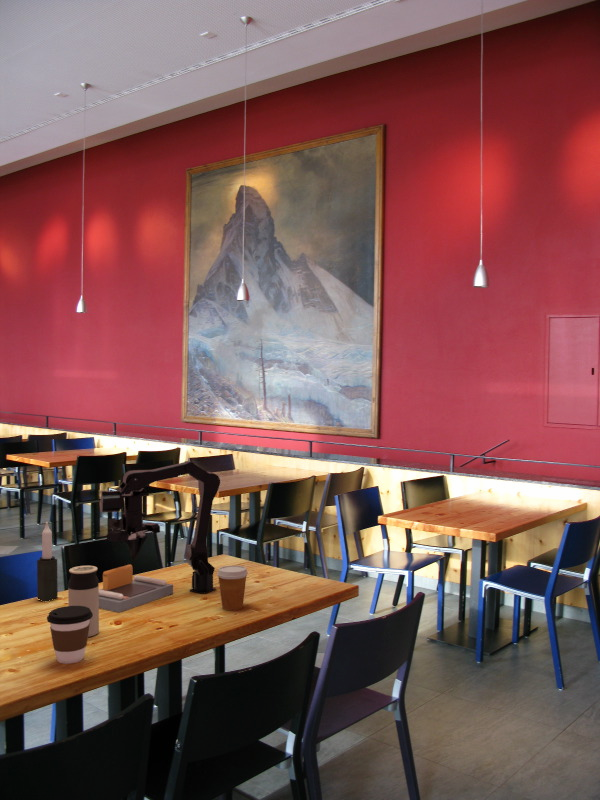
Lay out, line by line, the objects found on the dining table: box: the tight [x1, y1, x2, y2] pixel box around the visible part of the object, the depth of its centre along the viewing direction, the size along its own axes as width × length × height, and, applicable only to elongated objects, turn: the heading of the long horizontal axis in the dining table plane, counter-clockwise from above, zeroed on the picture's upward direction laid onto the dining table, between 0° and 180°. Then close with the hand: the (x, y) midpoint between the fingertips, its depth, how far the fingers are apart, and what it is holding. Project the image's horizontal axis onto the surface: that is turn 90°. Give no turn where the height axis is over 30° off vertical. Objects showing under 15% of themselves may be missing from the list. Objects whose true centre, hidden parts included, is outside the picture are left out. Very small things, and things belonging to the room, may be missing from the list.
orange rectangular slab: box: [102, 564, 134, 590], centre depth 240 cm, size 2×11×6 cm, turn 148°
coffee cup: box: [46, 605, 93, 665], centre depth 184 cm, size 11×11×12 cm
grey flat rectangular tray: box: [99, 574, 174, 613], centre depth 237 cm, size 16×24×5 cm, turn 148°
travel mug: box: [67, 565, 100, 638], centre depth 203 cm, size 8×8×18 cm
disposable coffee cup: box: [216, 565, 249, 611], centre depth 227 cm, size 10×10×12 cm
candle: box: [36, 521, 59, 602], centre depth 237 cm, size 5×5×25 cm
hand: (134, 558), depth 238 cm, fingers closed
